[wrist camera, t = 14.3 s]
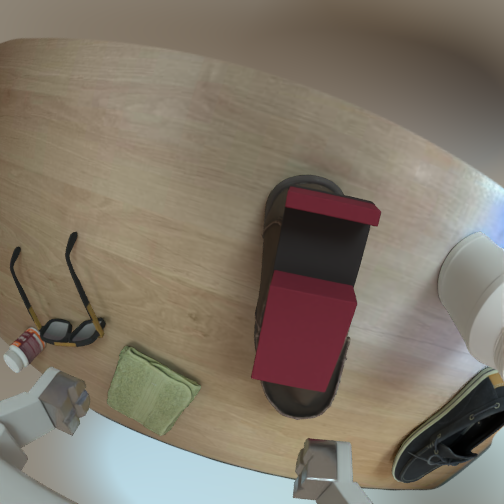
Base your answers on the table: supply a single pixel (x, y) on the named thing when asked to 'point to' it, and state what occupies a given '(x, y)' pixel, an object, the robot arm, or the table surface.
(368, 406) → the table surface
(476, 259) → the jar
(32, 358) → the pill bottle
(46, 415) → the robot arm
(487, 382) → the boat shoe
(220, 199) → the table surface
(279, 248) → the red and black block
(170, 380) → the washcloth
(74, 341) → the sunglasses
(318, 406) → the loafer
